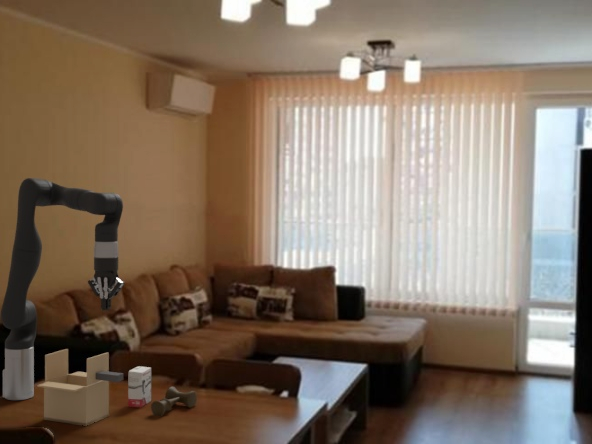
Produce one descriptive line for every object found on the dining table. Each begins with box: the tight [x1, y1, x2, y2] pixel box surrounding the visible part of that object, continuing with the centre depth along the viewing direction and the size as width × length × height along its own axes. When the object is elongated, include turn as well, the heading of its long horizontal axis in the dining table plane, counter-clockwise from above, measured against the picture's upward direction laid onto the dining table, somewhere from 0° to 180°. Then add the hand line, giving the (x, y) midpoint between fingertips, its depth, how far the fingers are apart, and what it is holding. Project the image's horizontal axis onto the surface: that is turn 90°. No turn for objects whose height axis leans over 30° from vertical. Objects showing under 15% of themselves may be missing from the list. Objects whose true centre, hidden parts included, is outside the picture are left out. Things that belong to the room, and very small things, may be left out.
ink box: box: [127, 365, 152, 408], centre depth 243 cm, size 9×5×12 cm, turn 168°
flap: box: [86, 352, 124, 385], centre depth 222 cm, size 8×10×9 cm
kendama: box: [150, 386, 198, 417], centre depth 239 cm, size 6×10×20 cm
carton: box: [36, 348, 110, 427], centre depth 227 cm, size 16×19×20 cm
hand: (106, 310), depth 232 cm, fingers closed
